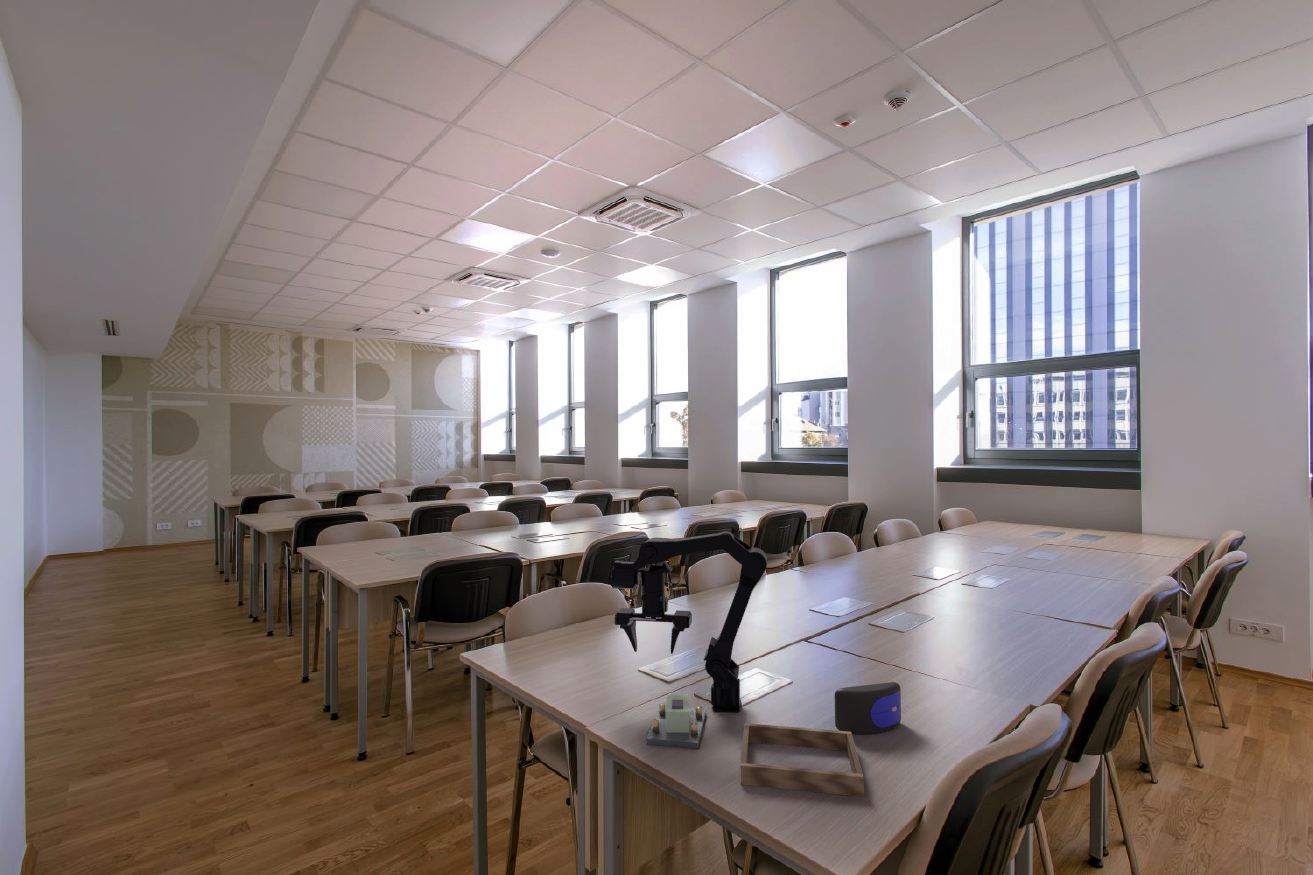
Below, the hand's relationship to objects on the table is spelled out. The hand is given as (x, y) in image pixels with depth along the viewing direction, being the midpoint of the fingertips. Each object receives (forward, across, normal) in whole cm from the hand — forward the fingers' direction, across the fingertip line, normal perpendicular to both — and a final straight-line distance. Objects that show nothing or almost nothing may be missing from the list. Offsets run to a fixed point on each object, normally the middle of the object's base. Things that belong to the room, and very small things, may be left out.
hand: (653, 652), depth 147 cm
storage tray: (+12, -34, +24) cm, 43 cm away
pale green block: (+11, -8, +13) cm, 19 cm away
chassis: (+12, -8, +13) cm, 19 cm away
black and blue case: (+12, -50, +5) cm, 52 cm away
